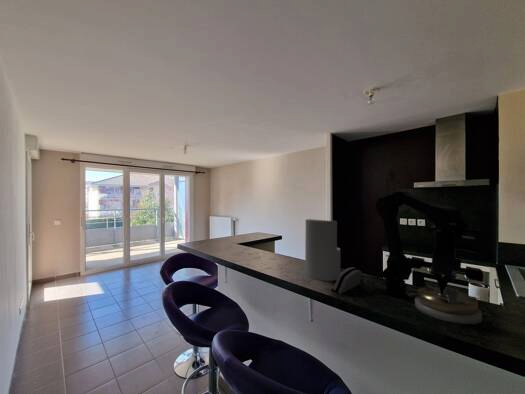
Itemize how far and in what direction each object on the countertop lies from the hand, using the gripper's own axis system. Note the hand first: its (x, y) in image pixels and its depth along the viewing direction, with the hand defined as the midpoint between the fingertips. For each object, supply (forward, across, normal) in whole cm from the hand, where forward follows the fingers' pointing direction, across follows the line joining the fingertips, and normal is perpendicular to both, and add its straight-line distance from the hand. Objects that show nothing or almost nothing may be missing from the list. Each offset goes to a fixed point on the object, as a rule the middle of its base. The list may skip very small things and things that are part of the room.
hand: (441, 294), depth 77 cm
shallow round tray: (+5, +1, +6) cm, 8 cm away
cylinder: (+10, -49, +16) cm, 53 cm away
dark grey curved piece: (+9, -32, +6) cm, 34 cm away
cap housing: (+7, +1, +6) cm, 10 cm away
